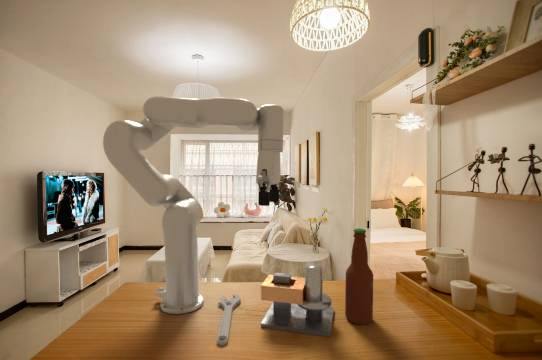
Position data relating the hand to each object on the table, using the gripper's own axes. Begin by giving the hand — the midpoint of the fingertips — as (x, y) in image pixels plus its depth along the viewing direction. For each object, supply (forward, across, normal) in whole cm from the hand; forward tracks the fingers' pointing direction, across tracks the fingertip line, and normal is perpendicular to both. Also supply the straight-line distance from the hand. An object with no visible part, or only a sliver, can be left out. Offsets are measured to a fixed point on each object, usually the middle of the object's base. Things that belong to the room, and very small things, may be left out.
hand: (269, 203), depth 90 cm
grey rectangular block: (+30, +6, +7) cm, 31 cm away
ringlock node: (+31, +6, +11) cm, 33 cm away
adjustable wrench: (+32, +12, -8) cm, 35 cm away
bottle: (+31, +1, +27) cm, 41 cm away
